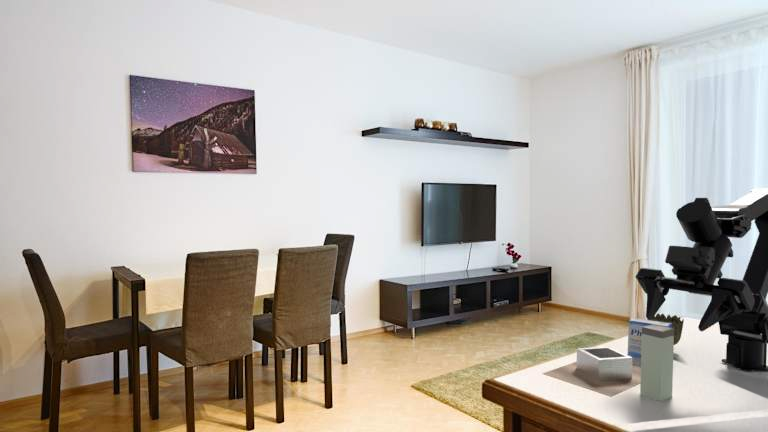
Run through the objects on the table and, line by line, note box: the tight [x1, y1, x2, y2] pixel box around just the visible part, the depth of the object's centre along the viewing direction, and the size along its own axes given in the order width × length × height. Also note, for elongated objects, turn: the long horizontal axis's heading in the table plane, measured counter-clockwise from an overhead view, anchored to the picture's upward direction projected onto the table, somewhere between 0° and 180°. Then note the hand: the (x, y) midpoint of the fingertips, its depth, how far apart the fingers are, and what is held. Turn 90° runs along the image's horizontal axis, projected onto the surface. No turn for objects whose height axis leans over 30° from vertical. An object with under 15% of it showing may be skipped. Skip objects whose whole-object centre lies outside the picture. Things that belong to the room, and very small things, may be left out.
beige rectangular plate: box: [542, 361, 641, 398], centre depth 98 cm, size 20×14×1 cm
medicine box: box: [627, 317, 672, 358], centre depth 109 cm, size 8×4×9 cm, turn 50°
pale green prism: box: [639, 324, 675, 402], centre depth 87 cm, size 4×4×13 cm
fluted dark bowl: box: [646, 313, 685, 350], centre depth 116 cm, size 8×7×8 cm
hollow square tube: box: [576, 346, 633, 381], centre depth 98 cm, size 7×7×4 cm
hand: (672, 323), depth 89 cm, fingers open, 9 cm apart
